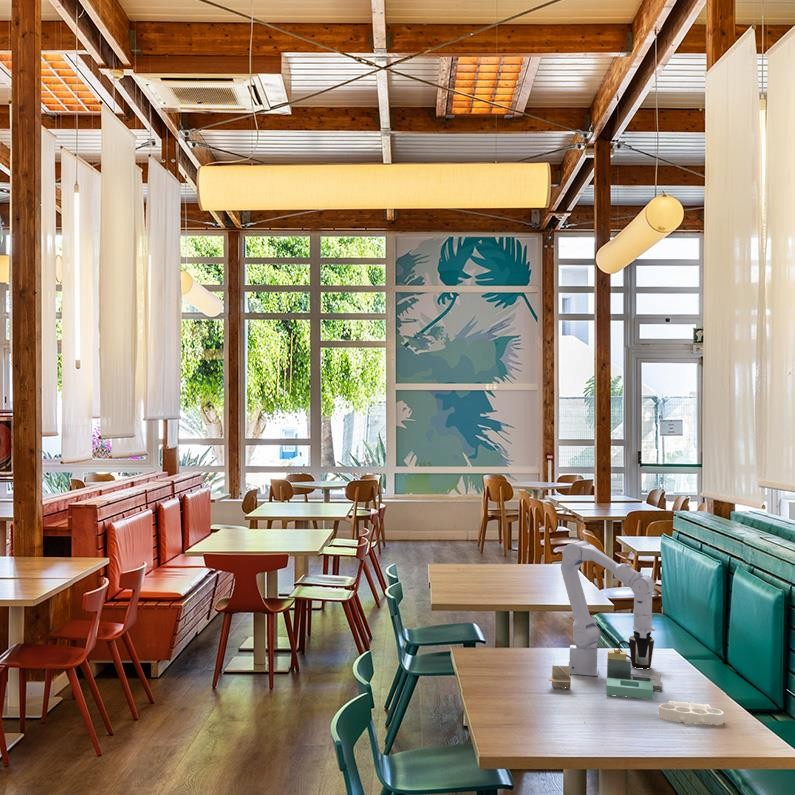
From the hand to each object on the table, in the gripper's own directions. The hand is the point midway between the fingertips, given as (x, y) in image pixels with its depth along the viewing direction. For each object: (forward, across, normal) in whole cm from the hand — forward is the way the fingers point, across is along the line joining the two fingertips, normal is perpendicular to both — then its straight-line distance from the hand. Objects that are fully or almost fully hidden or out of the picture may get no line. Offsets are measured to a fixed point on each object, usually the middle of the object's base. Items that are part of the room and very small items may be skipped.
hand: (642, 655), depth 292 cm
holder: (+9, -12, +4) cm, 15 cm away
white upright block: (+3, 0, 0) cm, 3 cm away
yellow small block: (+2, 0, +8) cm, 8 cm away
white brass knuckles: (+10, -30, -13) cm, 34 cm away
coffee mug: (+10, +22, +1) cm, 24 cm away
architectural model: (+10, -13, +25) cm, 30 cm away
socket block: (+9, 0, +2) cm, 10 cm away
